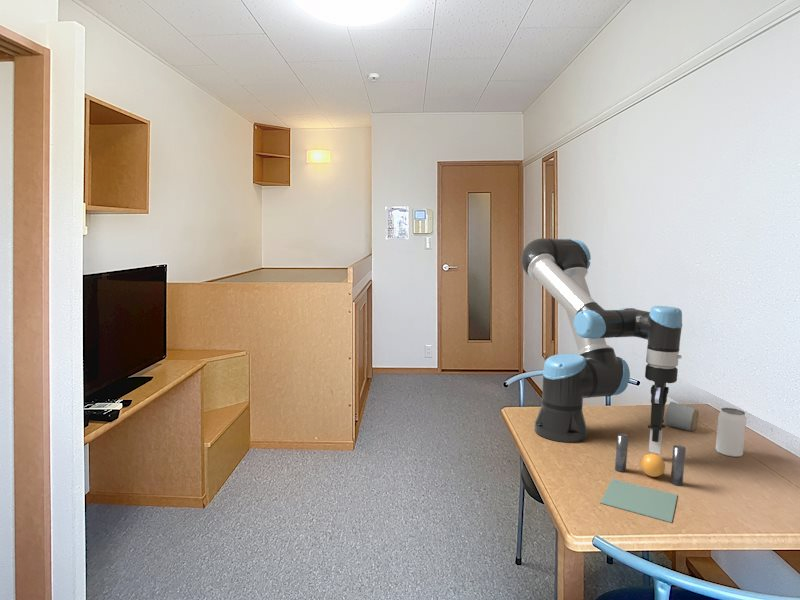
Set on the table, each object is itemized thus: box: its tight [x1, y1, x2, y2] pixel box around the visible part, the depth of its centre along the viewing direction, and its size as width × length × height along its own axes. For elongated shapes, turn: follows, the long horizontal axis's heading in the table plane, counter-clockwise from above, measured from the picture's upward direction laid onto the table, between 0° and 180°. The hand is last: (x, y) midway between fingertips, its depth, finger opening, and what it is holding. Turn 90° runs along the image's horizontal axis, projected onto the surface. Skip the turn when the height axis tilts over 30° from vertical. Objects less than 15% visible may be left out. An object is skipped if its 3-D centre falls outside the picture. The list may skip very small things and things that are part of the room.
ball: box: [640, 453, 666, 478], centre depth 127 cm, size 6×6×6 cm
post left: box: [614, 433, 630, 473], centre depth 130 cm, size 3×3×9 cm
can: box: [715, 407, 747, 458], centre depth 143 cm, size 6×6×12 cm
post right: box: [670, 444, 687, 487], centre depth 123 cm, size 3×3×9 cm
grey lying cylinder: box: [664, 401, 700, 432], centre depth 163 cm, size 11×8×8 cm
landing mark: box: [600, 478, 678, 524], centre depth 116 cm, size 14×14×1 cm
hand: (654, 451), depth 138 cm, fingers closed
